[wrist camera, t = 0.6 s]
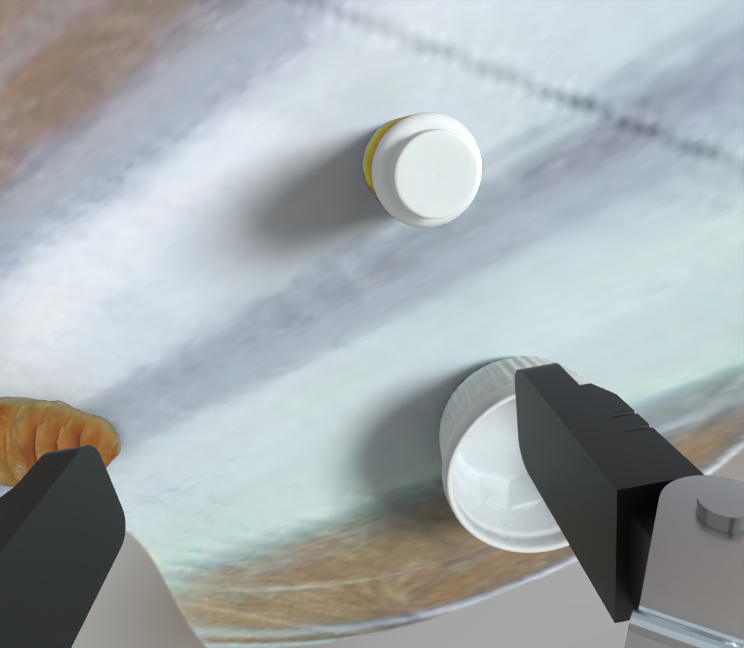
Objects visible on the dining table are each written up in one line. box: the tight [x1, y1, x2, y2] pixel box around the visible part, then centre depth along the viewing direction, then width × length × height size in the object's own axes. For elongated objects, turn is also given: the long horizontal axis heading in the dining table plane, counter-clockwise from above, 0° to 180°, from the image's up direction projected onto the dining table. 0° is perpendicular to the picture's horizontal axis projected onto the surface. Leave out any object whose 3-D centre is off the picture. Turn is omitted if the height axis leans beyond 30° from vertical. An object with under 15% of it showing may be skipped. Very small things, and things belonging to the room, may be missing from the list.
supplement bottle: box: [363, 113, 482, 228], centre depth 28 cm, size 6×6×10 cm
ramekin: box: [439, 356, 606, 553], centre depth 37 cm, size 13×13×7 cm
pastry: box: [0, 397, 121, 487], centre depth 36 cm, size 9×7×4 cm
